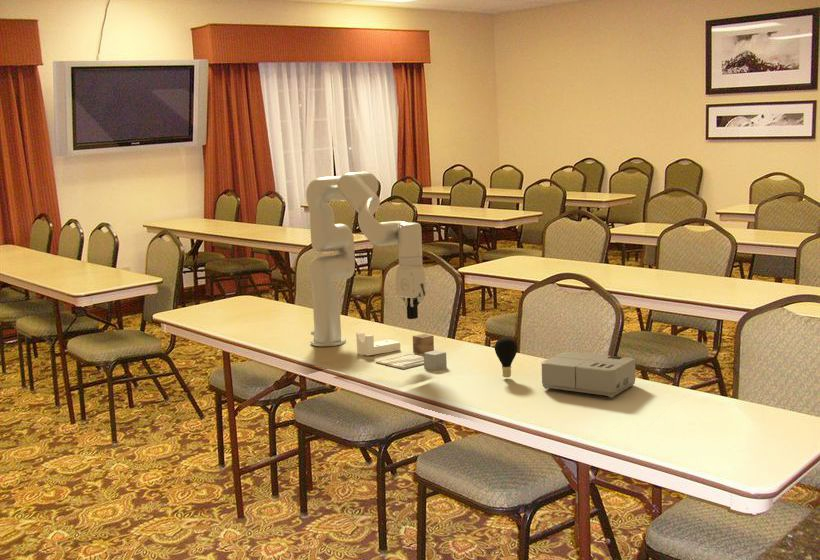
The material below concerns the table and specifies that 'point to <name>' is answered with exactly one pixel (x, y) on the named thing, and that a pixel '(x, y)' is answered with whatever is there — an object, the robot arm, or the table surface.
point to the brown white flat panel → (404, 361)
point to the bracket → (374, 345)
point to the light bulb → (506, 354)
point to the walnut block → (423, 343)
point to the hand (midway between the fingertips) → (412, 318)
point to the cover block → (435, 360)
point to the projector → (588, 373)
